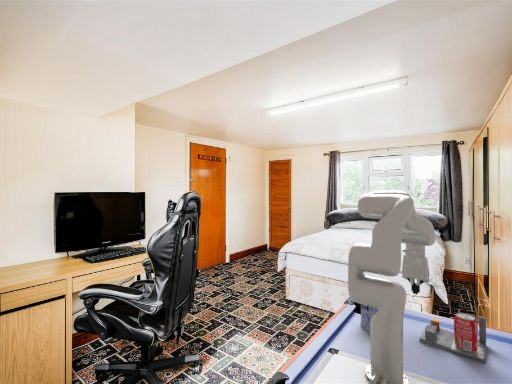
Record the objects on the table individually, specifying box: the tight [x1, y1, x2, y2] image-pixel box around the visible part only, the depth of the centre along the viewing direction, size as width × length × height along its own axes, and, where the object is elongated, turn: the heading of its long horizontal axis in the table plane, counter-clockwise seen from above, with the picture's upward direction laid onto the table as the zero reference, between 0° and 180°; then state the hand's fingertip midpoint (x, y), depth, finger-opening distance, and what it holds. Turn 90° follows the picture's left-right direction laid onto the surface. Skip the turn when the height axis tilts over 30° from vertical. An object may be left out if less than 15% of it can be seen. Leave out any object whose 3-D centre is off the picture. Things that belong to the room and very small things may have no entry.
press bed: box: [418, 315, 487, 364], centre depth 104 cm, size 16×20×11 cm
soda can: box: [453, 312, 479, 352], centre depth 99 cm, size 7×7×12 cm
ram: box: [425, 318, 441, 342], centre depth 109 cm, size 15×3×4 cm, turn 137°
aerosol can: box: [360, 304, 379, 332], centre depth 118 cm, size 8×8×20 cm
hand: (415, 293), depth 119 cm, fingers closed
